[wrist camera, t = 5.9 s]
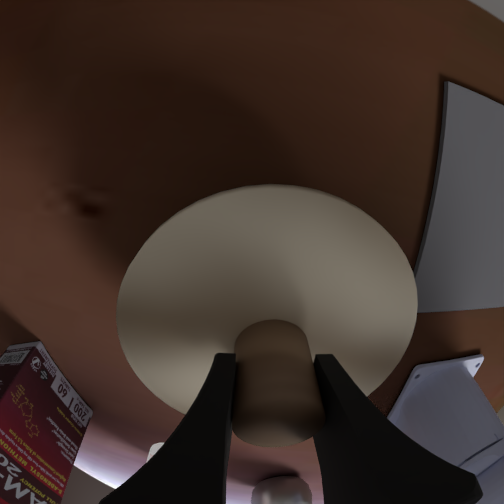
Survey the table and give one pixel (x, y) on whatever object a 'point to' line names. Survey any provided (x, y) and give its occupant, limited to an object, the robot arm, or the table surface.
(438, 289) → the mat
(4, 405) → the supplement box
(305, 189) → the board
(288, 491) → the plastic bottle
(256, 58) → the table surface
